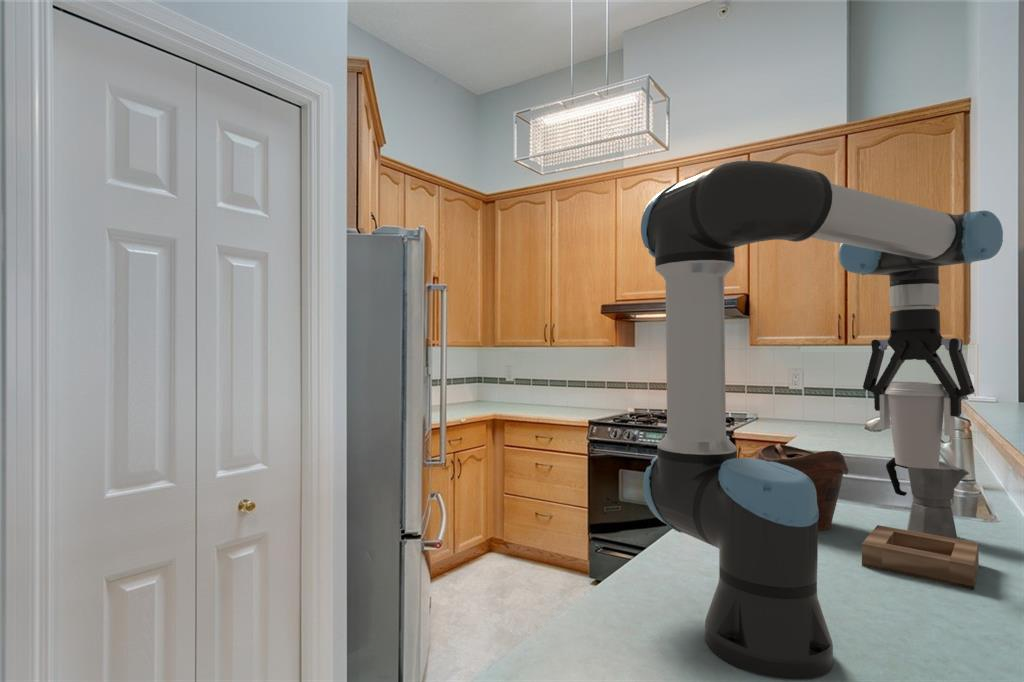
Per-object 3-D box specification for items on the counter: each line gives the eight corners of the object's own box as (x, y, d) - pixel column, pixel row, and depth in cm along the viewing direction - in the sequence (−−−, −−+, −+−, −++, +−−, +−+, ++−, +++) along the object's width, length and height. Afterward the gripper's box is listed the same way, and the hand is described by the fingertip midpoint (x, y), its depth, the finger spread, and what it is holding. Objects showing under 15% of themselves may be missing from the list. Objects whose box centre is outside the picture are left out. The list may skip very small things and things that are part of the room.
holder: (973, 590, 95) (973, 565, 95) (861, 565, 105) (861, 543, 106) (978, 564, 107) (978, 542, 107) (877, 544, 118) (877, 525, 118)
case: (761, 506, 146) (761, 435, 146) (852, 521, 135) (852, 444, 135) (742, 523, 132) (743, 445, 132) (843, 542, 120) (843, 455, 120)
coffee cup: (952, 464, 106) (951, 382, 106) (945, 472, 99) (944, 385, 99) (891, 458, 112) (890, 380, 113) (880, 465, 105) (879, 382, 106)
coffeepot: (977, 539, 122) (976, 454, 122) (960, 547, 116) (960, 458, 117) (895, 522, 134) (895, 444, 135) (877, 528, 129) (876, 447, 129)
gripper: (997, 306, 99) (999, 436, 99) (858, 313, 117) (860, 424, 117) (983, 304, 95) (985, 441, 95) (841, 311, 113) (842, 427, 112)
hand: (916, 431), depth 106 cm, fingers closed on coffee cup, 9 cm apart
